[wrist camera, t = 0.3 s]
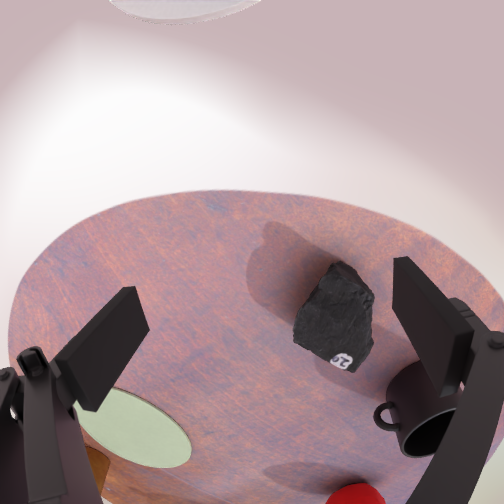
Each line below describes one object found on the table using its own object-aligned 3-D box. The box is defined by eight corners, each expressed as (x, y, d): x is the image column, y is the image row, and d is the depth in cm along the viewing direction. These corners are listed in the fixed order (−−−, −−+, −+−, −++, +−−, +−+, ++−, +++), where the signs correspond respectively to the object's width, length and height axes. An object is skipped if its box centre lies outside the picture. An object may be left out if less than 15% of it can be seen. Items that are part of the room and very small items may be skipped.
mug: (373, 364, 33) (390, 420, 25) (457, 353, 32) (486, 399, 23) (361, 414, 36) (371, 467, 28) (437, 403, 35) (457, 449, 27)
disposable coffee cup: (75, 451, 50) (54, 488, 39) (80, 436, 47) (55, 478, 35) (113, 472, 51) (94, 512, 40) (121, 460, 48) (100, 505, 36)
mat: (52, 377, 41) (51, 379, 41) (165, 389, 38) (165, 391, 37) (106, 456, 48) (105, 457, 48) (206, 471, 45) (206, 473, 44)
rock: (354, 355, 33) (364, 389, 27) (276, 319, 32) (275, 354, 27) (402, 293, 30) (422, 321, 24) (322, 248, 29) (330, 272, 24)
